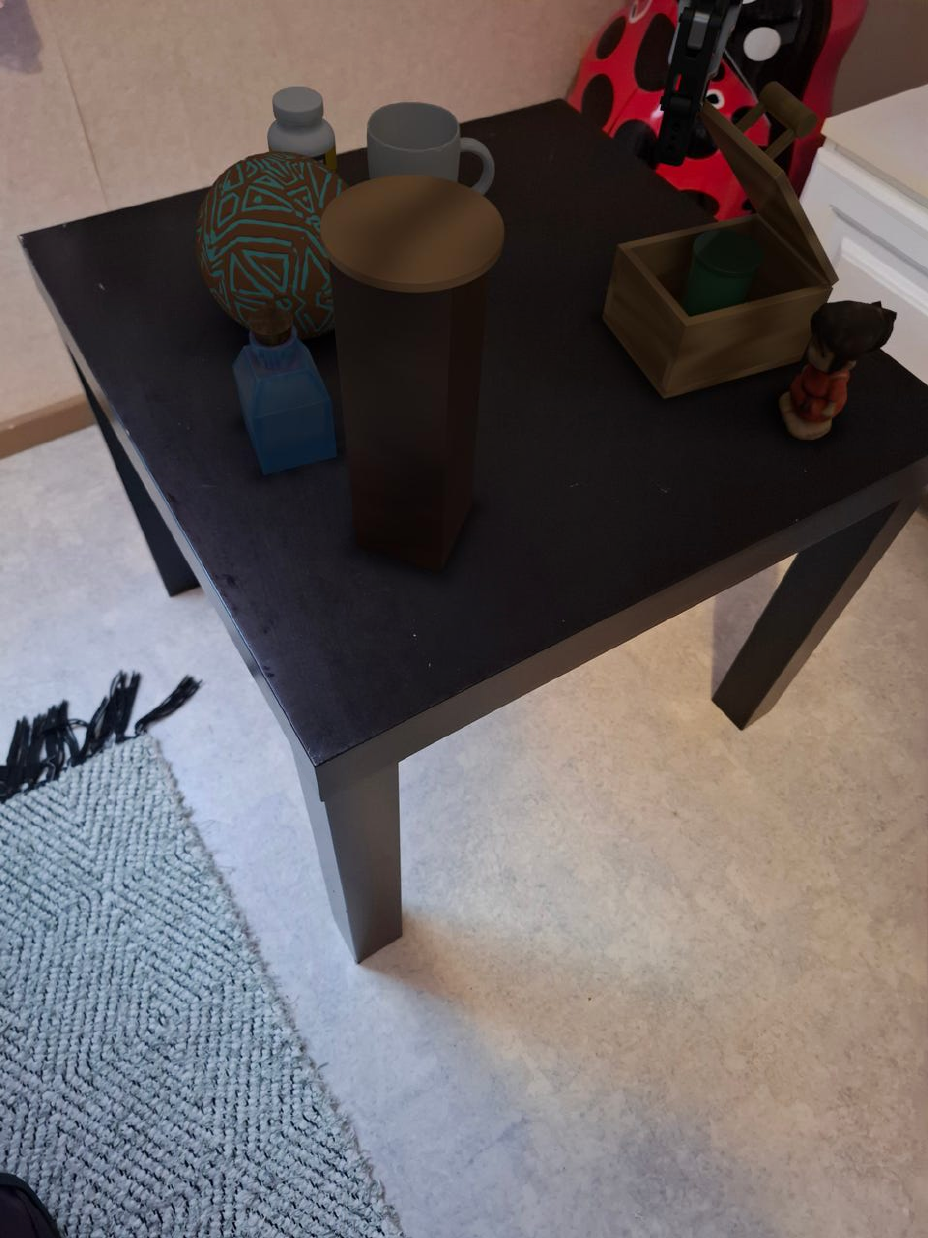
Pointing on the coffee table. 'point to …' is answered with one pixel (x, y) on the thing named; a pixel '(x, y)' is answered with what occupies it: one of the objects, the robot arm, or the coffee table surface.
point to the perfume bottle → (282, 395)
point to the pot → (720, 271)
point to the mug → (421, 144)
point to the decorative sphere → (269, 239)
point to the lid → (771, 169)
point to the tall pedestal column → (410, 354)
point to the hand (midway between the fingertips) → (678, 133)
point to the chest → (716, 340)
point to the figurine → (832, 363)
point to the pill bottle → (302, 126)
